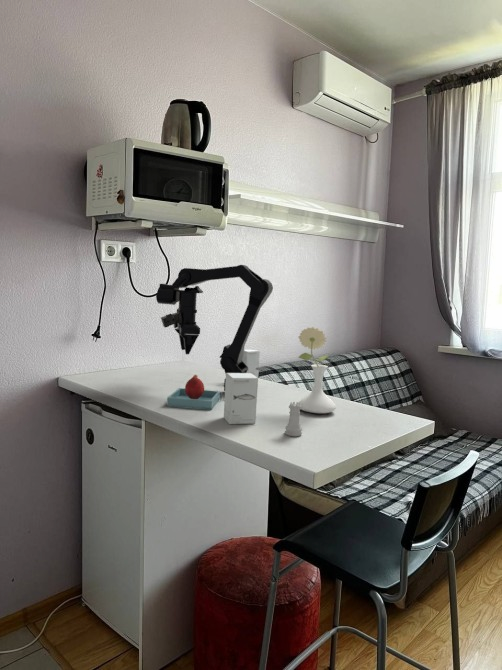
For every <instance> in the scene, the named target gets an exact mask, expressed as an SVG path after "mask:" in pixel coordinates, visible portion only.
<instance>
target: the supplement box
mask: <svg viewBox="0 0 502 670" xmlns="http://www.w3.org/2000/svg"><path fill="white" fill-rule="evenodd" d="M225 378H226V381H225V391H224V393H225V394H224V402H223V418H224V419H225V421H226V422H227V423H228V424H229V425H239V424H240V425H241V424H242V425H244V424H245V425H246V424H249V425H250V424H251V425H253V424H256V421H257V419H256V418H257V404H258V403H257V402H258V399H257V398H258V389H259V388H258V387H259V377H258V378H257V377H256V376H254V375H253V374H252V373H226V374H225Z"/></svg>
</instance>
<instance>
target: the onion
mask: <svg viewBox="0 0 502 670" xmlns="http://www.w3.org/2000/svg"><path fill="white" fill-rule="evenodd" d="M184 389H185V392H186V395H187V396H188V397H189V398H190V399H198V398H199V397H201V396H202V395H203V393H204V390H205V385H204V382H203V381H202V379H200V378H199V377H198V375H197V374H194V375H193V376H192V377H191V378H190V379H189V380H187V382H186V384H185V387H184Z"/></svg>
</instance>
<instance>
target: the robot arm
mask: <svg viewBox="0 0 502 670" xmlns="http://www.w3.org/2000/svg"><path fill="white" fill-rule="evenodd" d="M233 278H234V279H235V278H240V280H242V281H243V283H245V284H246V285H247V286H248V287H249V288H250V290H249V296H248V304H247V307H246V309H245V311H244V314H243V316H242V319H241V321H240V324H239V326H238V328H237V330H236V333H235V335H234V337H233V339H232V342H231V344H230V343H229V344H227V345H224V346H223V348H222V353H221V355H220V356H219V358H220V362H219V364H220V366H221V368H222V369H223V370H224V372H225V375H226V373H246V372H247V370H248V367H247V366H246V364H245V363H244V362H243V361H242V359H243V355H244V350H245V346H246V344H247V341H248V339H249V336H250V334H251V332H252V329H253V327H254V324H255V322H256V320H257V318H258V315H259V313H260V310H261V308H262V306H264V305H265V303H266V302H267V300H268V299H269V297H270V295H271V294H272V292H273V290H274V289H273V288H274V287H273V284H272V282H271V281H270V280H269V279H265V278H263V277H261V276H260V275H259V274H257V272H254V271H253V270H252V269H251V268H249V266H248V265H246V264H239V265H235V266H234V265H233V266H226V267H225V266H224V267H215V268H208V269H203V268H201V269H200V268H192V267H191V268H190V267H189V268H188V267H184V268H181V269H180V271H179V272H178V275H177V278H176V279H175V280H174V281H173V283H172V284H167V283H159V287H158V289H157V292H156V293H155V298H156V302H157V303H158V304H162V305H174V306H175V305H176V304H177V303H178V308H177V309H176V312H174V313H169V314H165V315H164V316H162V317H160V320H161V322H162V325H163V327H164V328H169V327H170V326H173V328H174V331H176V333H177V334H178V337H179V343H180V349H181V350H182V351H184V353H185V355H190V353H191V351H192V349H193V347H194V345H195V343H196V341H197V339H198V337H200V334H201V328H200V327H199V326H198V325H197V322H196V316H197V315H196V314H197V313H198V309H197V294H204V291H203V290H202V288H200V286H199V284H202V283H206V282H208V281H215V280H216V281H217V280H224V279H233ZM190 286H193V287H190ZM183 289H184V290H183ZM223 381H224V382H223V383H224V384H223V391H224V395H225V381H226V377H225V378H224V380H223Z"/></svg>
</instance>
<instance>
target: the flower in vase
mask: <svg viewBox="0 0 502 670" xmlns="http://www.w3.org/2000/svg"><path fill="white" fill-rule="evenodd" d="M298 339H299V342H300V344H301V346H303V347H304V348H308V349H310V353H308V352H303V353H301V354H300V355H299V356H298V358H299V359H302V360H305V361H310V360H311V359H313V361H314V363H315V364H311V365H310V367H311V368H312V370H313V374H314V385H313V389H312V390H311V391H310V393H309V392H308V394H306V395H305V396H304V397H302V398H301V399H300V400H299V401H298V404H299V403H300V406H301V407H302V408H301V409H300V410H302V411H304V412H308V413H311V414H330V413H332V412H335V410H336V409H337V407H336V404H335V402H334V401H333V400H332V399H331V398H330V397H328V396H327V394H326V393H325V392H324V391H323V378H324V375H325V372H326V371H327V370H328V367H329V366H328V365H324V364H319V363H318V362H322V361H324V360H326V359H328V357H329V354H327V355H324V356H320V357H319V358H318V359H317V360H316V359H315V357H314V355H313V354H314V353H313V350H315V349H320V348H323V347H324V345H325V343H326V342H327V340H326V339H327V338H326V335H325V333H324V331H323V330H319V328H318V327H317V328H315V327H314V326H312V327H307V328H304V329H302V330H301V331H300V333H299V336H298Z"/></svg>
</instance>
